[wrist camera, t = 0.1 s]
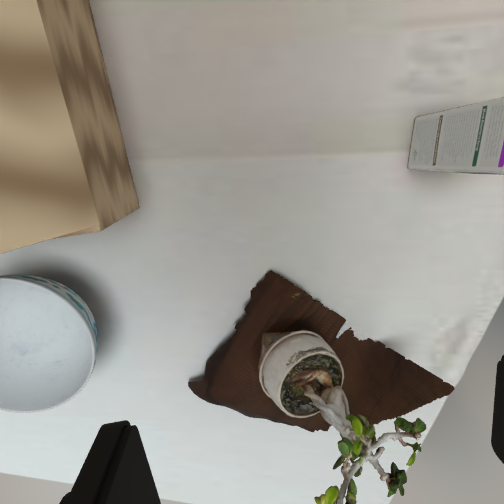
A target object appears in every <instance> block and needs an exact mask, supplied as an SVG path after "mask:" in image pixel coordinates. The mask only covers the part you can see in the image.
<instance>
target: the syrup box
mask: <svg viewBox="0 0 504 504" xmlns="http://www.w3.org/2000/svg"><path fill="white" fill-rule="evenodd" d="M408 169H414V170H426V171H442V172H457V173H472V174H504V97H501V98H497V99H493V100H488V101H484V102H479V103H475V104H470V105H466V106H462V107H457V108H453V109H449V110H445V111H441V112H436V113H432V114H427V115H423V116H419V117H416V119H415V124H414V129H413V135H412V141H411V148H410V155H409V161H408Z"/></svg>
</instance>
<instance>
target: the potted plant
mask: <svg viewBox="0 0 504 504" xmlns="http://www.w3.org/2000/svg"><path fill="white" fill-rule="evenodd" d="M322 305H323V304H322V303H321V302H319V301H317V302H315V300H312V296H310V295H307V293H306V292H305V291H303V290H301V289H300V288H298V287H297V286H294V284H292V283H291V282H289V281H288V280H286V279H284V278H283V277H282V276H280V275H279V274H278V275H276V274H275V273H274V272H272V271H270V272H268V273H267V275H266V277H265V278H264V280H263V281H261V282H260V283H258V284H257V285H256V287H255V288H253V289H252V290H251V300H250V302H249V303H248V305H247V306H246V308H245V312H246V316H245V318H244V319H243V320H242V321H240V322H239V323H237V324H236V326H235V329H236V330H237V333H236V334H235V335H234V337H233V338H232V339H231V340H230V341H229V342H228V343H226V344H225V345H224V346H222V347H221V348H220V349H219V350H218V351H217V352H216V353H215V354H214V355H213V356H212V357H211V358H210V359H209V360H208V361H207V363H206V370H205V376H204V381H201V382H188V386H189V388H190V389H191V390H192V391H193V393H194V394H196V395H197V396H198V397H199V398H201V399H203V400H205V401H207V402H209V403H212V404H216V405H221V406H226V407H228V408H231V409H233V410H235V411H238V412H240V413H242V414H243V415H245V416H248V417H253V418H264V419H268V420H271V421H273V422H278V423H284V424H287V425H291V426H299V427H301V428H303V429H305V430H308V431H311V432H314V431H315V430H316V431H318V430H323V431H328V429H329V427H330V426H331V425H332V426H334V427H335V428H336V429H337V430H338V431H339V432H340V436H341V437H342V440H341V441H339V442H338V448H339V451H340V452H341V454H342V455H341V456H340V457H339V458H338V460H337V461H336V463H335V464H334V466H333V469H336V468H337V467H339V466H340V465H341V464H342V463H343V466H342V467H341V472H342V474H343V477H344V481H343V484H341V488H340V490H339V489H338V487H337V486H334V487H333V486H331V487H329V488H328V489H327V491H326V492H325V495H324V494H322V495H321V496H320V497H315V501H316V503H317V504H343V498H344V497H345V493H346V489H347V486H348V491H347V495H346V497H345V498H346V503H345V504H356V496H355V495H356V493H357V489H356V485H355V483H354V480H353V479H352V476H353V475H354V476H355V477H358V476H359V475H361V472H362V467H361V466H363V465H362V464H363V463H364V462H367V461H370V463H371V464H372V465H373V466H374V468H375V469H377V471H378V473H379V474H380V475H381V477H380V479H381V480H382V481H385V480H386V483H387V486H388V489H389V493H388V496H387V497H390V496H391V495H393V494H395V493H396V491H397V488H399V490H400V494H401V495H402V496H403V495H404V488H403V486H402V485H403V484H405V483H406V482H407V477H406V473H405V470H399V469H398V468H397V466H396V464H395V463H394V462H392V464H391V474H390V473H385V472H384V470H383V468H382V467H381V466H380V464H379V462H378V460H377V459H378V458H379V457H380V455H381V454H382V452H383V451H384V450H385V449H384V447H379V448H378V449H377V450H376V453H375V455H373V453H372V450H373V449H375V448H376V447H377V446H379V445H380V444H381V443H383V442H386V441H387V439H391V438H392V439H393V440H394V441H395V439H396V440H397V439H398V440H399V441H400V442H401V443H402V445H403V446H407V445H408V446H411V447H413V450H414V453H413V454H412V456H411V457H410V459H409V461H408V463H407V464H406V465H409V466H410V465H412V464H413V463H414V461H415V455H416V453H415V452H416V450H417V449H418V450H419V451H420V452H421V447H420V445H421V443H420V444H418V443H417V442H416V443H415V444H409V443H405V442H404V441H403V440H402V438H401V437H413V438H416V440H417V438H421V434H420V433H421V432H423V431H425V429H426V425H425V423H424V422H423V421H422V420H421V419H419V418H417V419H416V421H415V422H413V423H411V422H408V421H407V420H406V419H404V418H401V417H400V416H402V415H405V414H406V413H409V411H410V412H411V411H412V410H415V409H418V407H422V406H423V405H425V404H427V403H431V402H432V401H433V400H436V399H437V398H442V397H443V396H447V395H449V394H450V393H451V392H452V391H453V390H454V387H453V386H452V385H450V384H449V383H446V382H443V380H442V379H440V378H439V377H437V376H435V375H434V374H432V373H430V372H429V371H427V370H425V369H424V368H422V367H420V366H419V365H417V364H415V363H414V362H412V361H410V360H406V359H405V357H404V356H402V355H400V354H399V353H397V352H395V351H394V350H392V349H390V348H385V345H384V344H382V343H381V342H377V343H374V341H373V340H371V339H370V338H368V339H367V340H363V341H362V340H360V341H359V340H358V338H356V337H353V336H354V334H353V333H354V331H352V330H351V327H350V328H349V329H350V330H349V329H348V330H346V331H345V332H344V333H343V334H342V335H341V336H340V337H339V339H338V338H337V339H336V336H337V334H338V332H339V330H340V328H341V327H342V326H343V324H344V323H345V321H346V320H345V319H344V318H343V317H341V316H340V315H338V314H337V313H335V312H334V311H331V312H330V311H329V309H328V308H326V309H325V307H324V306H322ZM398 416H399V417H398ZM395 417H396V421H394V424H395V430H396V433H385V434H383V435H382V436H381V437H379V438H378V441H376V437H375V434H376V433H375V429H374V425H373V424H378V423H380V422H381V421H382V420H383V421H384V420H387V419H394V418H395ZM397 417H398V418H397ZM399 428H400V429H401V430H403V431H406V432H400V430H399ZM399 432H400V433H399ZM351 457H352V458H351ZM358 457H360V458H359V459H358V460H356V461H355V462H354V460H355V459H356V458H358ZM345 458H347V459H346V461H345V462H344V460H345ZM349 459H350V461H351V462H352V464H353V465H352V466H351V467H350V463H348V461H349ZM349 482H350V483H349ZM348 484H349V485H348ZM352 491H353V492H352ZM401 492H402V493H401ZM335 502H336V503H335Z"/></svg>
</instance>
